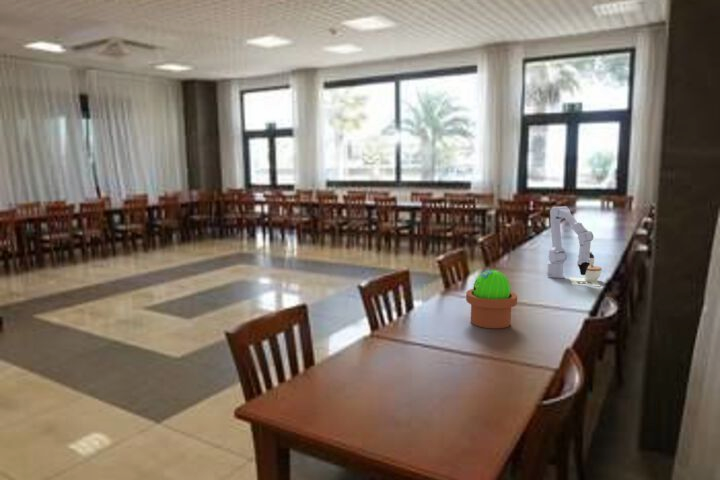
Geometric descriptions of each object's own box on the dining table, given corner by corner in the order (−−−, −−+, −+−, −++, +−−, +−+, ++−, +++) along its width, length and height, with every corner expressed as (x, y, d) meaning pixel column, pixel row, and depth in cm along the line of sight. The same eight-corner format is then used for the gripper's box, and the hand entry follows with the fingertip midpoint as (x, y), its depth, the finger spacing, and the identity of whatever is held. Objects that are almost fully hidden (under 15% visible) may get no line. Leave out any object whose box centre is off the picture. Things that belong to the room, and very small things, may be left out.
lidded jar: (603, 281, 316) (605, 266, 315) (586, 281, 316) (587, 266, 315) (596, 277, 327) (597, 263, 325) (578, 277, 327) (579, 263, 325)
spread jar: (591, 266, 364) (592, 249, 362) (596, 269, 353) (598, 252, 351) (573, 265, 365) (574, 249, 363) (578, 269, 354) (579, 252, 352)
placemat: (573, 284, 310) (573, 284, 310) (568, 277, 328) (568, 277, 328) (600, 286, 306) (600, 285, 306) (594, 279, 324) (594, 278, 324)
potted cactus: (506, 315, 250) (509, 263, 246) (522, 330, 228) (525, 274, 224) (460, 316, 249) (462, 264, 245) (472, 331, 227) (474, 274, 223)
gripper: (586, 254, 301) (584, 277, 303) (596, 251, 312) (594, 273, 314) (574, 253, 306) (572, 275, 308) (584, 249, 316) (582, 271, 319)
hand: (582, 274), depth 311 cm, fingers closed
